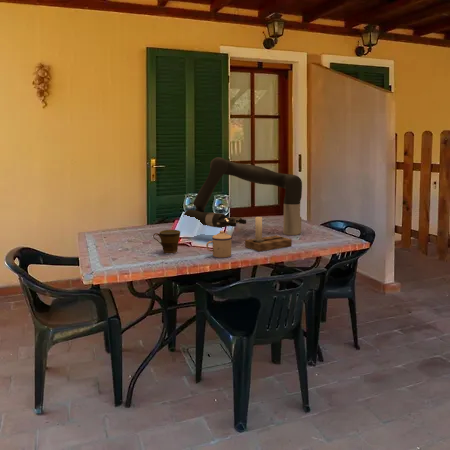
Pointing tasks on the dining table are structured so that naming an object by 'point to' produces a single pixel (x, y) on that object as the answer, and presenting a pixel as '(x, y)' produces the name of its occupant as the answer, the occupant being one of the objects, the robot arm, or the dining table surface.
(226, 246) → the teacup with lid
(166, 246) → the ceramic cup
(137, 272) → the dining table surface
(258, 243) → the wooden tray
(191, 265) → the dining table surface
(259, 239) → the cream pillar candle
